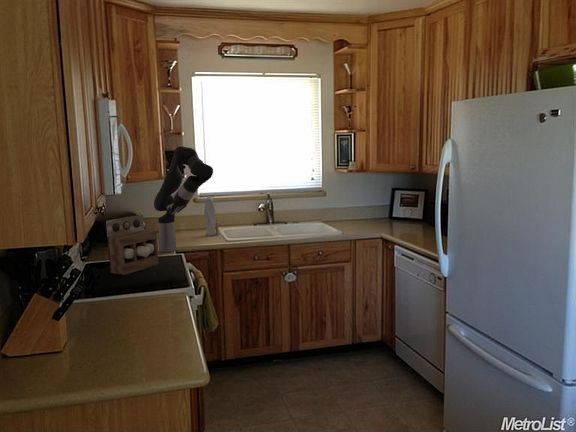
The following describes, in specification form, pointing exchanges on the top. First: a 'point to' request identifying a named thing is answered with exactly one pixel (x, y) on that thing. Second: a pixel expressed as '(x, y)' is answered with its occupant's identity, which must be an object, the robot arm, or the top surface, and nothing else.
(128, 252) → the button left
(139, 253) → the button middle
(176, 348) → the top surface
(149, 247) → the button right
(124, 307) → the top surface
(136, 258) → the brown toy oven
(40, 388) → the top surface
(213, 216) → the skyscraper
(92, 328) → the top surface
